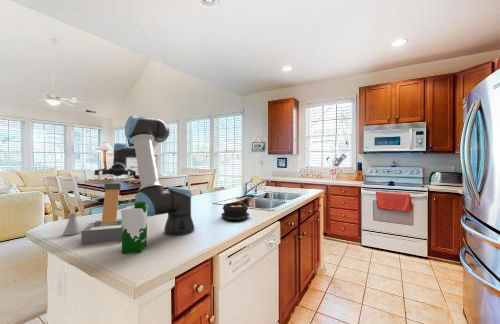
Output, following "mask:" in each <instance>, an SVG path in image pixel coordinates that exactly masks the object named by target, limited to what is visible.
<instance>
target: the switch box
mask: <svg viewBox="0 0 500 324" xmlns="http://www.w3.org/2000/svg"><path fill="white" fill-rule="evenodd" d="M101 222H102V219H101V220H95V222H91V223H89V224H88V225H87V226H86V227H84V228H83V229H81V234H80V235H81V243H80V244H81V246H82V245H91V244H101V243H112V242H120V241H121V242H122V218H118V219H117V220H116V223H106V224H102V223H101Z"/></svg>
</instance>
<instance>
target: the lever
mask: <svg viewBox="0 0 500 324" xmlns="http://www.w3.org/2000/svg"><path fill="white" fill-rule="evenodd" d="M121 189H122V184H121V183H104V187H103V190H104V191H105V192H104V198H103V205H102V206H103V207H102V215H101V223H102V224H106V223H116V221H117V220H118V219H117V217H118V209H119V208H118V207H119V198H120V197H119V196H120V191H121Z"/></svg>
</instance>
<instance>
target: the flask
mask: <svg viewBox="0 0 500 324" xmlns="http://www.w3.org/2000/svg"><path fill="white" fill-rule="evenodd" d="M67 216H68V221H67V224H66V226H65V228H64V231H63V233H62V236H74V235H78V234H80V233H81V231H82V229H81V227H80V225H79V223H78V221H77V216H78V215H77V213H76V212H75V213H73V212H72V213H69V214H67Z"/></svg>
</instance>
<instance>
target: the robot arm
mask: <svg viewBox="0 0 500 324" xmlns="http://www.w3.org/2000/svg"><path fill="white" fill-rule="evenodd" d="M124 136H125V137H126V138H129V140H130V142H131V144H133V145H134V146H128V144H127V143H124V142H122V143H121V142H116V143H114V145H113V159H112V162H113V163H112V166H111V167H110V168H108V169H107V168H106V167H104V168H100V169H95V170H94V175H95V176H97V177H98V179H100V178H101V177H103V175H104V176H105V175H113V176H115V177H120V176H123V175H126V176H127V179H130V177H133V176H134V177H135V176H137V175H136V173H137V171H136V170H133V169H131V168H127V161H128V160H127V159H130V158H131V159H133V158H135V159H136V164H137V170H138V176H139V181H140V187H139V189H138V190H137V191H138V193H136V194H135V196H134V197H135V198H134V200H135V201H134V203H135V202H141V201H143V202H145V205H146V206H148V209H147V218H148V217H154V216H159V215H160V216H161V215H166V214H167V219H166V222H165V226H164V229H163V230H164V231H163V233H165V235H168V236H183V235H187V234H190V233H192V232H194V231H195V223H194V221H193V218H192V191H191V189H190V188H187V187H179V186H169V187H168V188H167V190H165V187H164V185H162V184H161V183H160V178H159V173H158V168H157V162H156V158H155V157H156V156H155V153H154V149H155V148H156V147H157V146H158V145H159V144H161V143H164V142H165V141H166V140H167V139H168V138H169V136H170V128H169V126H168V124H167V123H166V122H165V121H164V120H162V119H160V118H154V117H153V118H152V117H146V116H145V117H144V116H139V115H130V116H128V117H127V120H126V122H125V126H124Z"/></svg>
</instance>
